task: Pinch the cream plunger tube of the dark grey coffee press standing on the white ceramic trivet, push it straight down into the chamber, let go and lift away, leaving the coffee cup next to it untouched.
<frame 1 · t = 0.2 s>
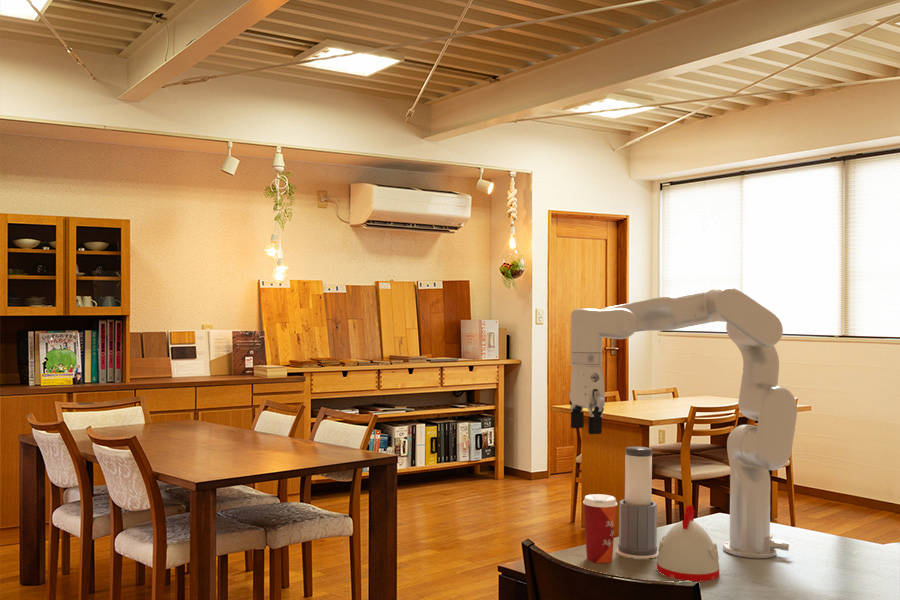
hand: (585, 430, 201), 31 cm above the table, tool pointing down, fingers open, 9 cm apart
plunger: (638, 483, 207), point 17 cm above the table, slide at 0.0 cm
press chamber: (637, 553, 206), on the table
kitchen timer: (687, 572, 193), on the table
coffee cup: (599, 560, 201), on the table
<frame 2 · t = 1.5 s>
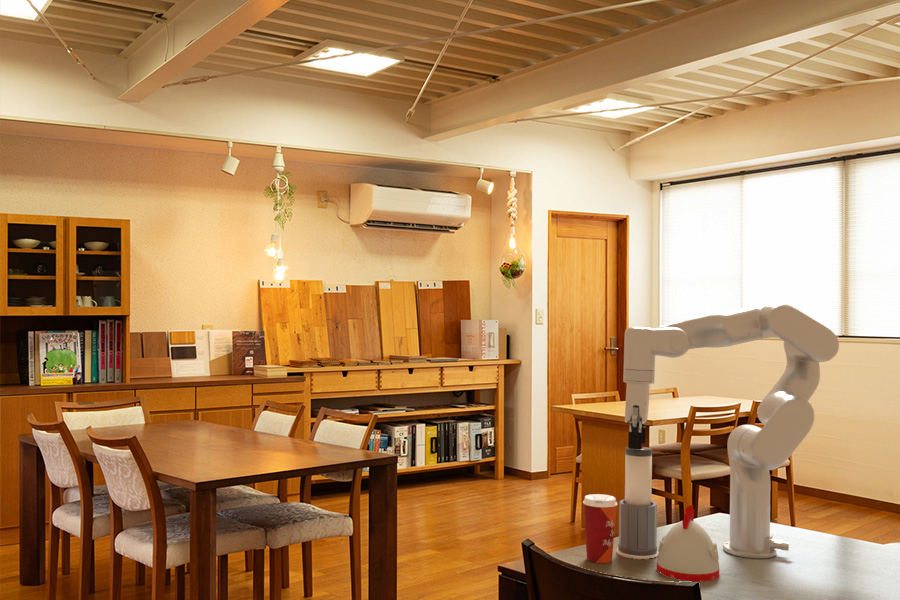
hand: (637, 445, 207), 27 cm above the table, tool pointing down, fingers open, 9 cm apart
nothing on the table moved.
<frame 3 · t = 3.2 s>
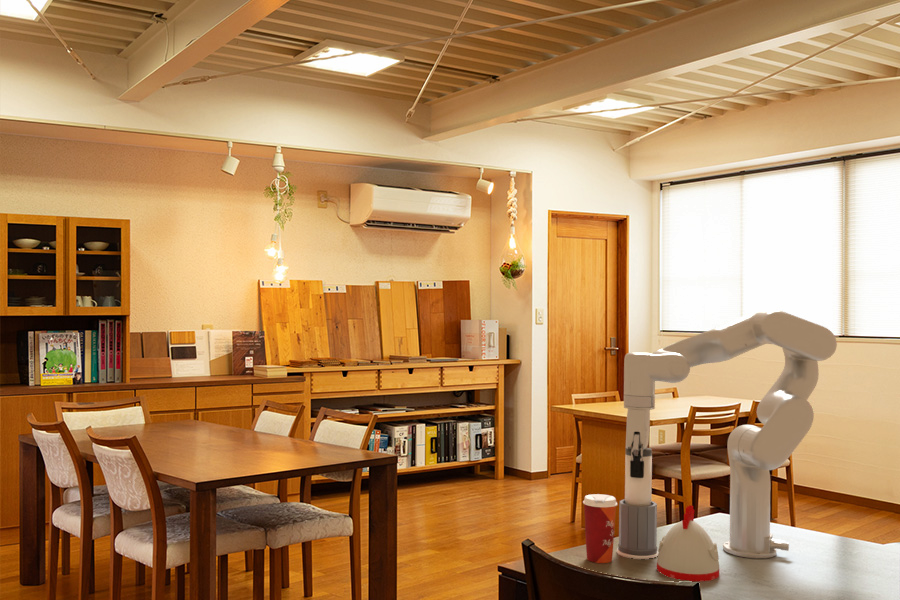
hand: (638, 474, 207), 20 cm above the table, tool pointing down, fingers closed on plunger, 6 cm apart
plunger: (638, 483, 207), point 17 cm above the table, slide at 0.0 cm, touching gripper
everything else where it was.
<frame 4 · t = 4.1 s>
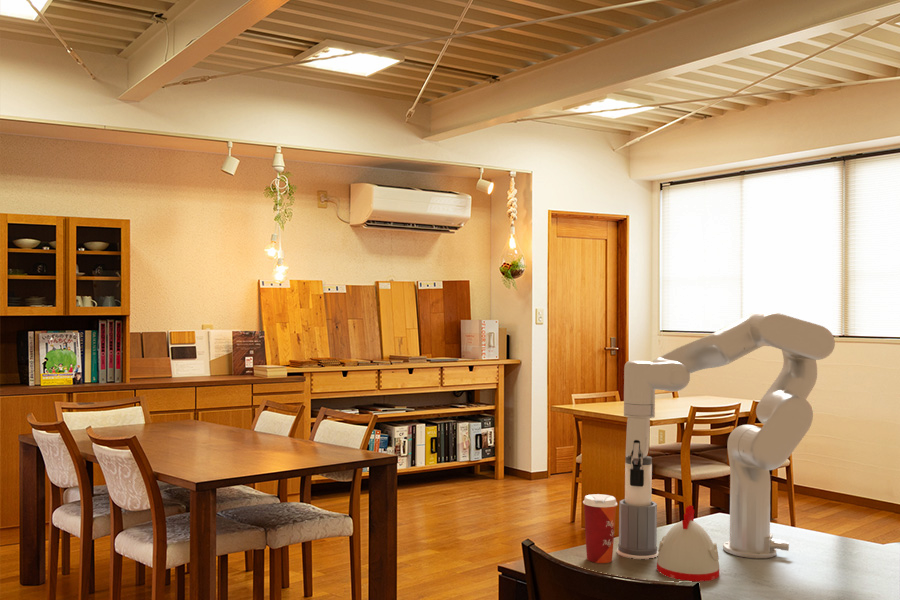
hand: (638, 482, 207), 18 cm above the table, tool pointing down, fingers closed on plunger, 6 cm apart
plunger: (638, 492, 207), point 15 cm above the table, slide at 2.1 cm, touching gripper
everything else where it was.
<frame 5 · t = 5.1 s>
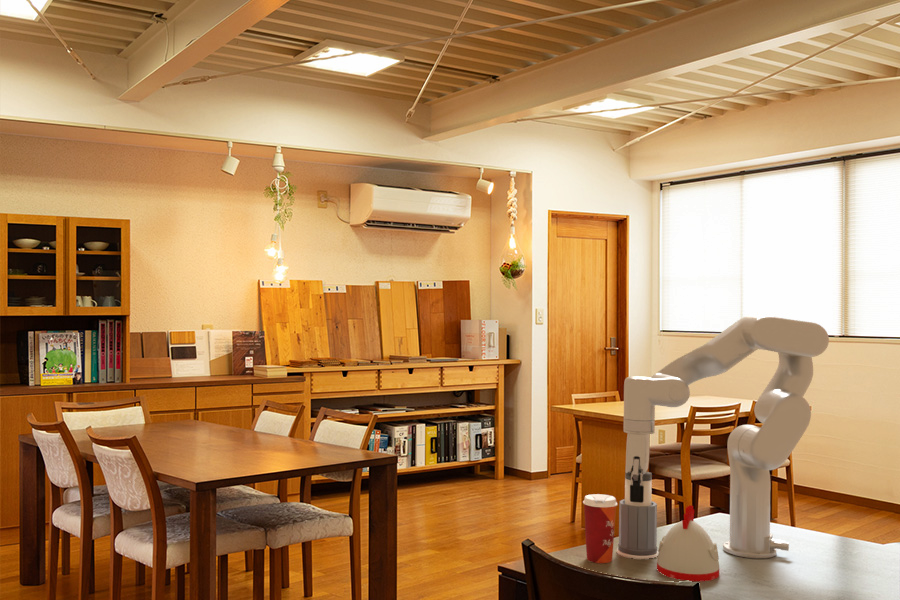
hand: (638, 498, 206), 14 cm above the table, tool pointing down, fingers closed on plunger, 6 cm apart
plunger: (638, 508, 206), point 11 cm above the table, slide at 6.0 cm, touching gripper
everything else where it was.
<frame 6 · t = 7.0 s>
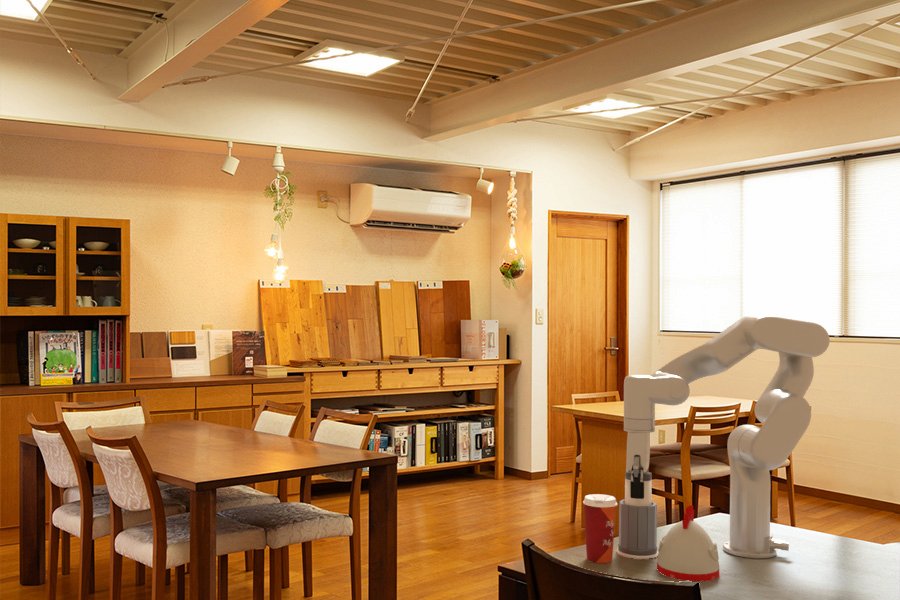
hand: (639, 494, 207), 15 cm above the table, tool pointing down, fingers open, 9 cm apart
plunger: (638, 508, 206), point 11 cm above the table, slide at 6.0 cm
everything else where it was.
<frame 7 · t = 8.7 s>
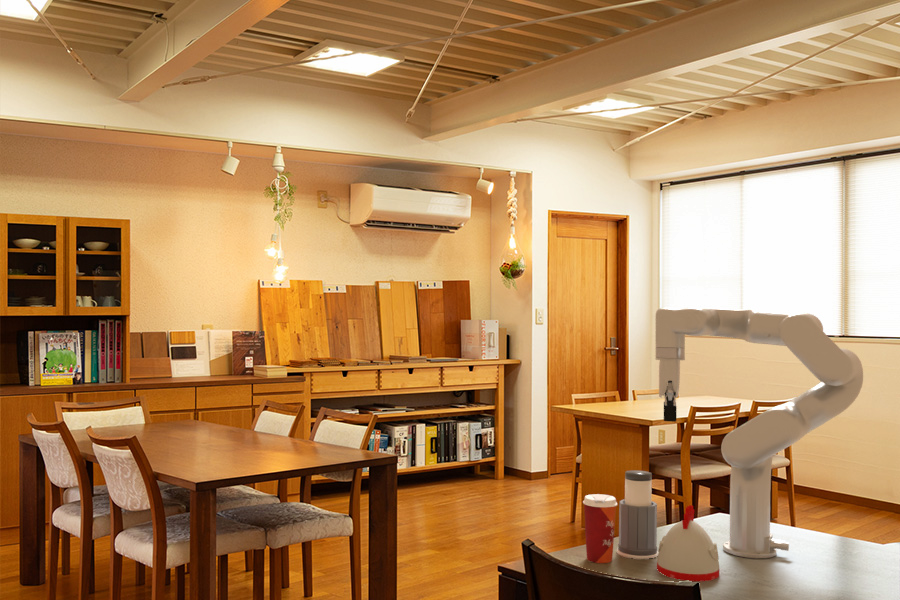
hand: (669, 418, 221), 32 cm above the table, tool pointing down, fingers open, 9 cm apart
nothing on the table moved.
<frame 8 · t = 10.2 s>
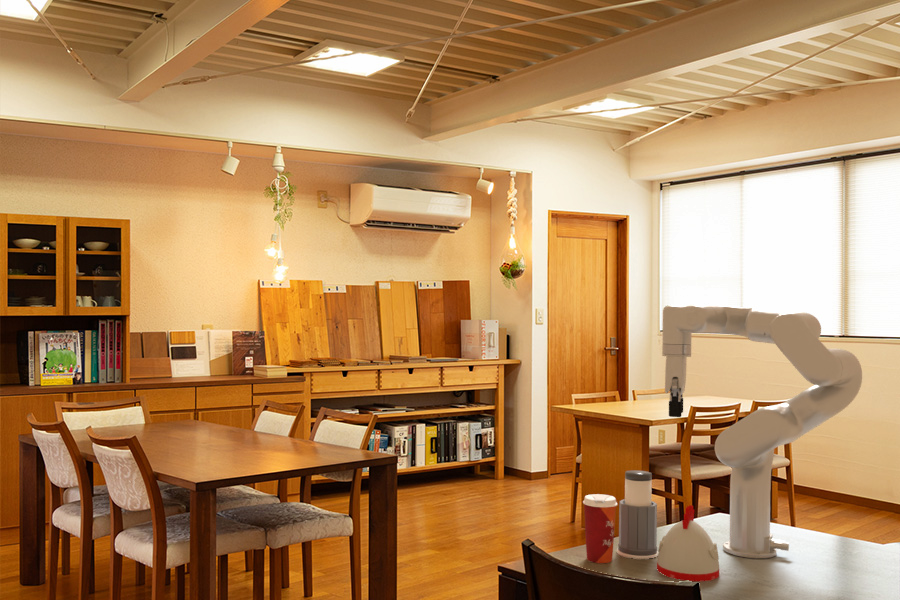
hand: (676, 414, 224), 32 cm above the table, tool pointing down, fingers open, 9 cm apart
nothing on the table moved.
at the end: plunger slide at 6.0 cm; the gripper is holding nothing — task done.
